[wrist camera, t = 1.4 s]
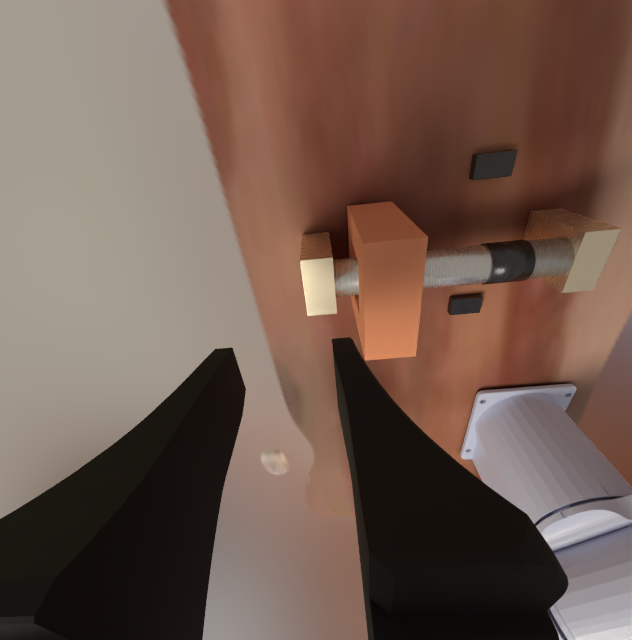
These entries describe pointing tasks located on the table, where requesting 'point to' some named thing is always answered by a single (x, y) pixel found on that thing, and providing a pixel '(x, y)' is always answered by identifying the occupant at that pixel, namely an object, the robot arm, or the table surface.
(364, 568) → the robot arm
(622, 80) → the table surface
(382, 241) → the upright terracotta block
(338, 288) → the pipe rail
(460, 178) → the table surface
